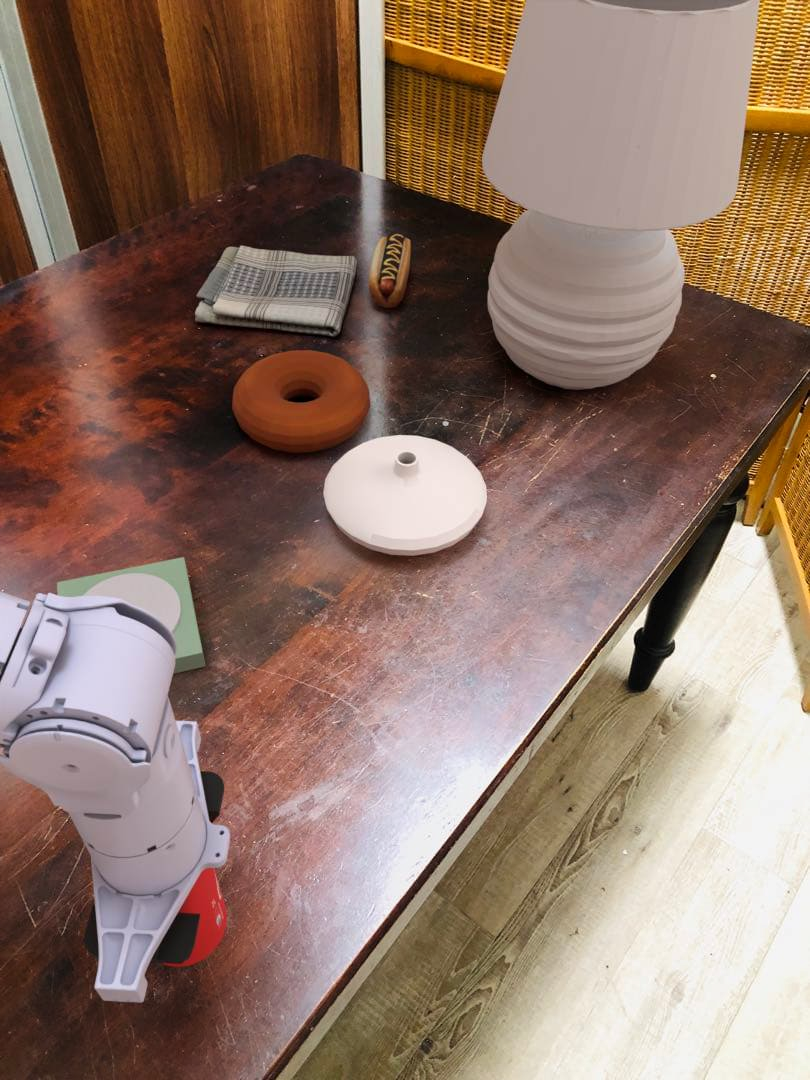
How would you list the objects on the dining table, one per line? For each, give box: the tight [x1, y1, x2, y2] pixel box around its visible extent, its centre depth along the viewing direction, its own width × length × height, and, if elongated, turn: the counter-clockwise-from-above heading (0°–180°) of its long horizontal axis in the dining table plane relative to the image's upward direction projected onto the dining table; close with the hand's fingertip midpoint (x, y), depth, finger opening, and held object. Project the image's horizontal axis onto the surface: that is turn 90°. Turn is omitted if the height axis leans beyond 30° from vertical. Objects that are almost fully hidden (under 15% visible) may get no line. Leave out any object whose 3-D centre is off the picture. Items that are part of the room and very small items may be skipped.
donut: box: [231, 349, 371, 454], centre depth 94 cm, size 15×15×5 cm
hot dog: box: [368, 231, 412, 309], centre depth 113 cm, size 5×13×5 cm, turn 175°
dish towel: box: [194, 245, 358, 337], centre depth 112 cm, size 19×18×3 cm
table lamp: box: [481, 0, 761, 391], centre depth 90 cm, size 25×25×40 cm
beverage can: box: [161, 868, 228, 968], centre depth 51 cm, size 5×5×12 cm
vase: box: [323, 434, 488, 557], centre depth 84 cm, size 16×16×7 cm
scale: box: [56, 556, 207, 675], centre depth 75 cm, size 11×11×2 cm
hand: (177, 907), depth 53 cm, fingers closed on beverage can, 5 cm apart
